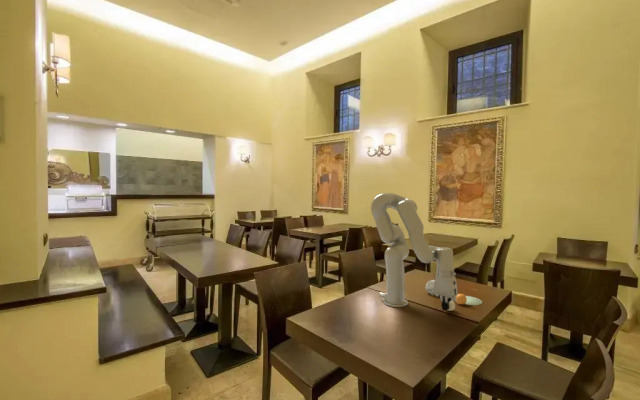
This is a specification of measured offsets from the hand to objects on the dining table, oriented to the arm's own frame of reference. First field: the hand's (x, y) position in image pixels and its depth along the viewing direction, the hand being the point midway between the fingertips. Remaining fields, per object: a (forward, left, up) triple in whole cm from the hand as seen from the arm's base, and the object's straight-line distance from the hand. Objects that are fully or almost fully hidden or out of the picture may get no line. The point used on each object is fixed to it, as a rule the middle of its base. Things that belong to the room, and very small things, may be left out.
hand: (445, 309), depth 149 cm
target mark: (+6, +25, -2) cm, 26 cm away
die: (-12, +25, -2) cm, 28 cm away
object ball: (+4, +17, +1) cm, 18 cm away
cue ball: (+1, +4, +1) cm, 5 cm away
